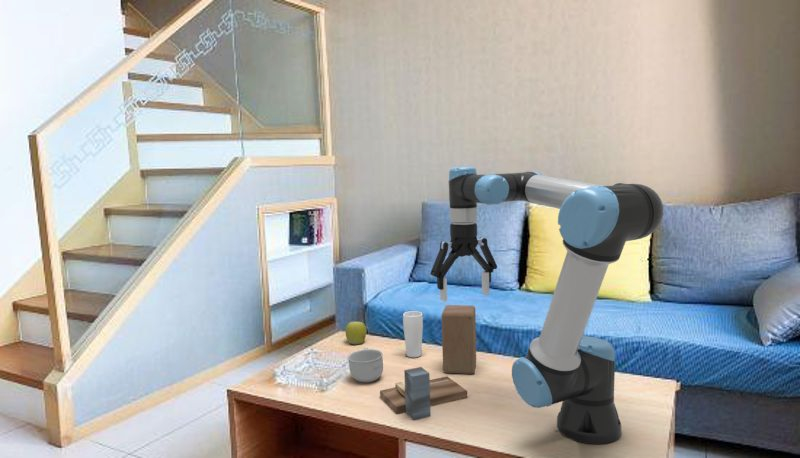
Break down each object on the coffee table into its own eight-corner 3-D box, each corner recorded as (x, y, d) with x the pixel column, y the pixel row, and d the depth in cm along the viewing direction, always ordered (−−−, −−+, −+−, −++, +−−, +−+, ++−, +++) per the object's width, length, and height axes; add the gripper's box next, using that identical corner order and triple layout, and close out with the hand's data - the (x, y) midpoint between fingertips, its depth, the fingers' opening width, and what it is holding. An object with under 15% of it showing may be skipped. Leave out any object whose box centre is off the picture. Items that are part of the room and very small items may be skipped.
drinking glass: (414, 350, 200) (413, 309, 198) (427, 355, 194) (426, 313, 192) (400, 355, 195) (398, 313, 193) (413, 360, 190) (411, 317, 188)
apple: (358, 345, 204) (351, 318, 205) (344, 347, 210) (338, 321, 210) (373, 339, 210) (367, 313, 211) (360, 342, 215) (354, 316, 216)
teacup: (380, 386, 170) (379, 361, 169) (345, 385, 172) (344, 360, 171) (388, 369, 183) (387, 345, 182) (355, 368, 185) (354, 344, 184)
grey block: (430, 416, 149) (429, 373, 148) (413, 420, 147) (412, 376, 146) (406, 394, 163) (405, 354, 162) (390, 397, 162) (389, 357, 160)
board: (467, 397, 160) (467, 390, 160) (396, 414, 151) (396, 406, 151) (447, 382, 171) (447, 375, 171) (380, 397, 162) (379, 390, 162)
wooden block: (474, 375, 176) (473, 313, 173) (442, 373, 178) (441, 312, 175) (476, 363, 186) (475, 304, 183) (446, 362, 188) (445, 304, 185)
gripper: (494, 218, 164) (495, 289, 167) (417, 225, 154) (419, 300, 157) (508, 220, 157) (509, 294, 160) (429, 227, 147) (431, 306, 150)
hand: (465, 297), depth 158 cm, fingers open, 13 cm apart
